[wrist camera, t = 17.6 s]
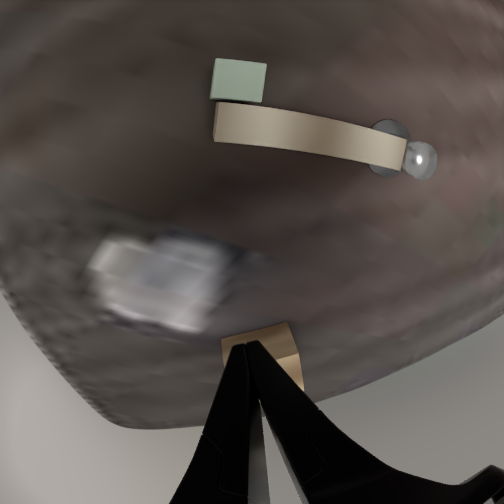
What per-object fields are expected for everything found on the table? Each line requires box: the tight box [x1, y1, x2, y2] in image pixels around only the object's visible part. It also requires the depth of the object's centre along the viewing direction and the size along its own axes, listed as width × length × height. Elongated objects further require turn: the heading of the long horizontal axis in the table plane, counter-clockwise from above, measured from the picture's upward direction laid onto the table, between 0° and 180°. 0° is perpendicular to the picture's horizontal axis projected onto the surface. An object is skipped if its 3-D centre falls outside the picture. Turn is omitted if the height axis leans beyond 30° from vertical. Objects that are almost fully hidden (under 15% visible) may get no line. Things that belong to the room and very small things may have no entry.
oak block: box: [221, 322, 304, 391], centre depth 25 cm, size 6×6×4 cm
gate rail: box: [213, 102, 407, 171], centre depth 16 cm, size 11×2×4 cm, turn 83°
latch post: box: [210, 58, 267, 103], centre depth 14 cm, size 2×2×4 cm
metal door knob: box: [367, 119, 437, 180], centre depth 17 cm, size 4×4×4 cm
